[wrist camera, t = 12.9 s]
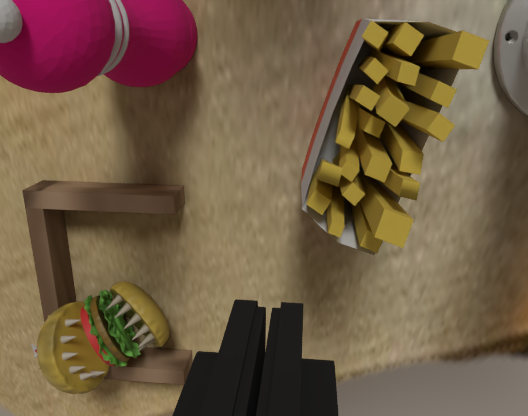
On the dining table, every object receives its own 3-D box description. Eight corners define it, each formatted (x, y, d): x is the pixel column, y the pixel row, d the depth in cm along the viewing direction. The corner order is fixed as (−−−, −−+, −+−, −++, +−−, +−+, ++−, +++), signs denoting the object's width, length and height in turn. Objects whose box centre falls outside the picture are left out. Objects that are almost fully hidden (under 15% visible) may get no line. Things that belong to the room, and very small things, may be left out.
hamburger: (186, 356, 39) (55, 432, 38) (173, 309, 46) (60, 372, 44) (143, 291, 36) (-5, 372, 34) (134, 250, 42) (9, 316, 40)
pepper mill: (158, 102, 37) (-3, 157, 18) (92, 29, 35) (-155, 7, 17) (223, 38, 35) (120, 26, 16) (156, -42, 33) (-43, -158, 15)
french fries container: (298, 159, 37) (286, 252, 20) (347, 22, 34) (385, -6, 17) (351, 178, 37) (385, 285, 20) (406, 42, 34) (504, 36, 17)
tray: (183, 185, 39) (173, 196, 36) (192, 363, 45) (184, 384, 42) (42, 180, 40) (22, 190, 37) (69, 354, 46) (53, 374, 43)
